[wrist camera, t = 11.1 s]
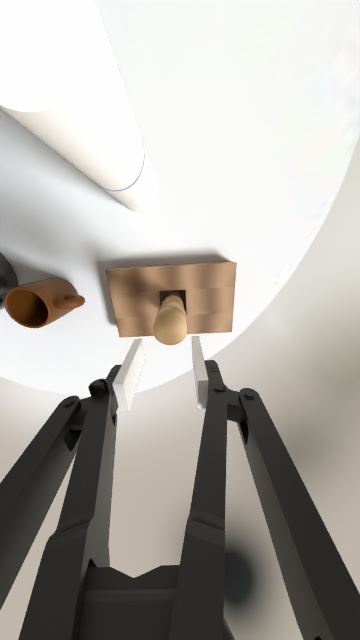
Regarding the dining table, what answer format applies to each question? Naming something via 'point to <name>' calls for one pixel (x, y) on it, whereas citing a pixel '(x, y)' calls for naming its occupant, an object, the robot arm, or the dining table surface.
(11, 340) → the dining table surface
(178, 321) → the oak peg
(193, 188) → the dining table surface
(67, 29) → the cylindrical container
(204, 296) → the seat board
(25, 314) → the mug
